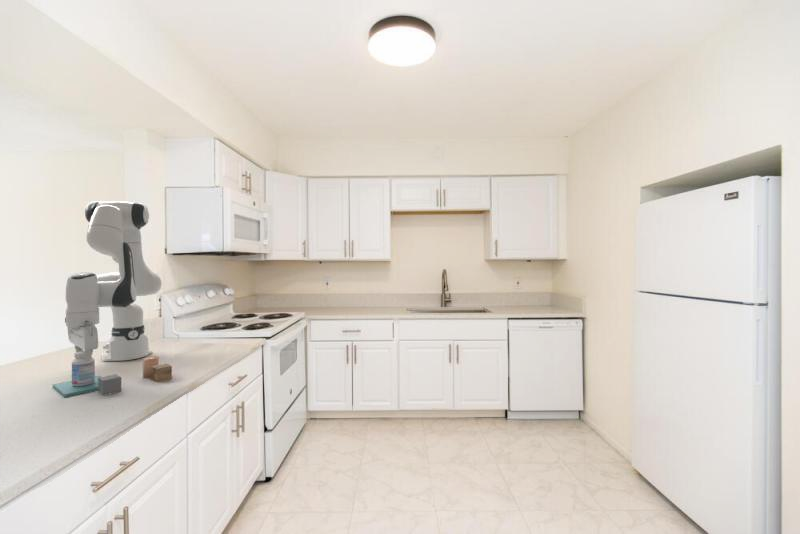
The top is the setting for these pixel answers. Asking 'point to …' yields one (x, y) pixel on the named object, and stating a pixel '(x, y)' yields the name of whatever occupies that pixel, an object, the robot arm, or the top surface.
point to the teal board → (75, 388)
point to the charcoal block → (109, 384)
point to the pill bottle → (82, 370)
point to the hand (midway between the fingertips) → (83, 358)
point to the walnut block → (161, 372)
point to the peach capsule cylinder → (149, 365)
